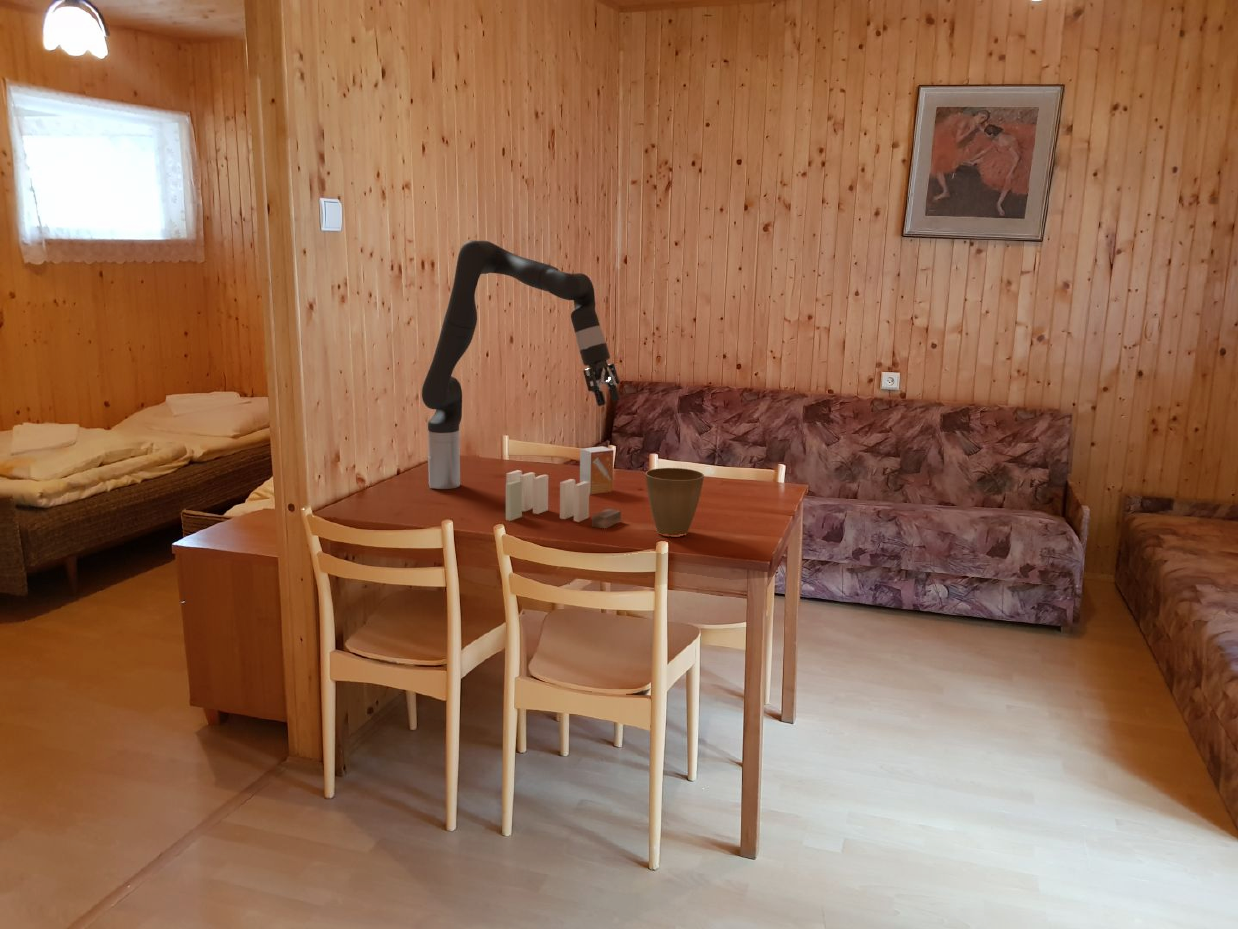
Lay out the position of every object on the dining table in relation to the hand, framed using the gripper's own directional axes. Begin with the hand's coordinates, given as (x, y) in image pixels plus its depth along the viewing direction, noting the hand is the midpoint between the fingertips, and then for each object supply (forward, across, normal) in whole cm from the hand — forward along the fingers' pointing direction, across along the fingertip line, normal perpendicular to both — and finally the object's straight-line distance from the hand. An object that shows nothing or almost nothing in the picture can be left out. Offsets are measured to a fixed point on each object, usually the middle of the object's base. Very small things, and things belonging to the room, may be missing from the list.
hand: (609, 403), depth 263 cm
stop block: (+31, +11, -6) cm, 33 cm away
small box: (+24, -19, -23) cm, 38 cm away
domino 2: (+22, +18, -28) cm, 40 cm away
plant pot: (+37, +10, +12) cm, 40 cm away
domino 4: (+23, +9, -26) cm, 36 cm away
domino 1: (+20, +8, -34) cm, 40 cm away
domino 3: (+22, +8, -30) cm, 38 cm away
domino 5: (+26, +10, -17) cm, 33 cm away
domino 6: (+28, +10, -13) cm, 32 cm away
